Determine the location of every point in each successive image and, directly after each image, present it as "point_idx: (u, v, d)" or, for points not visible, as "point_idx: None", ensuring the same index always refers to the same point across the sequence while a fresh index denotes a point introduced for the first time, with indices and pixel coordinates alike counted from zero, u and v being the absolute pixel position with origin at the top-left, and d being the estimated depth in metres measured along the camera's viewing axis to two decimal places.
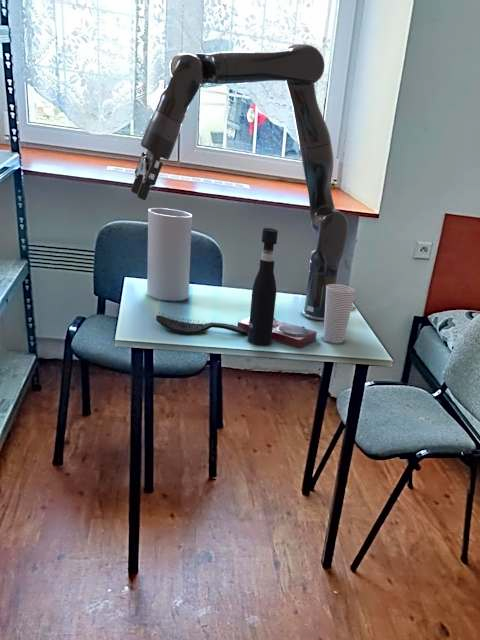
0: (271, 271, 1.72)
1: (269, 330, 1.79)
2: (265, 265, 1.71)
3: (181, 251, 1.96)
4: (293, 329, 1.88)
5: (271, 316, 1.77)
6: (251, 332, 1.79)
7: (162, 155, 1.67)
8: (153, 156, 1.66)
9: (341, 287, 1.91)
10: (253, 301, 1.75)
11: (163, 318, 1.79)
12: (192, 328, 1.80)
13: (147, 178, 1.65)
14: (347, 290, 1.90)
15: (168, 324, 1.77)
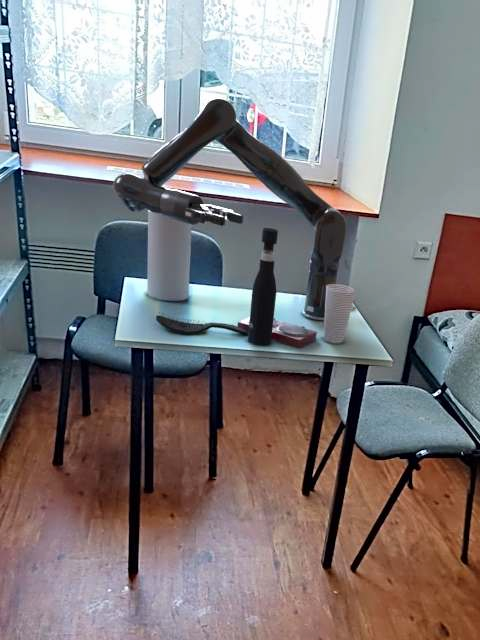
0: (271, 271, 1.72)
1: (269, 330, 1.79)
2: (265, 265, 1.71)
3: (181, 251, 1.96)
4: (293, 329, 1.88)
5: (271, 316, 1.77)
6: (251, 332, 1.79)
7: (187, 206, 1.71)
8: None
9: (341, 287, 1.91)
10: (253, 301, 1.75)
11: (163, 318, 1.79)
12: (192, 328, 1.80)
13: (200, 221, 1.67)
14: (347, 290, 1.90)
15: (168, 324, 1.77)
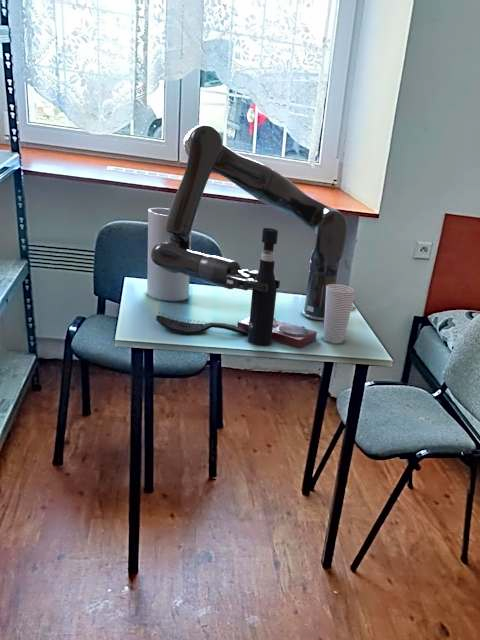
0: (271, 271, 1.72)
1: (269, 330, 1.79)
2: (265, 265, 1.71)
3: None
4: (293, 329, 1.88)
5: (271, 316, 1.77)
6: (251, 332, 1.79)
7: (225, 272, 1.74)
8: None
9: (341, 287, 1.91)
10: (253, 301, 1.75)
11: (163, 318, 1.79)
12: (192, 328, 1.80)
13: (243, 288, 1.71)
14: (347, 290, 1.90)
15: (168, 324, 1.77)
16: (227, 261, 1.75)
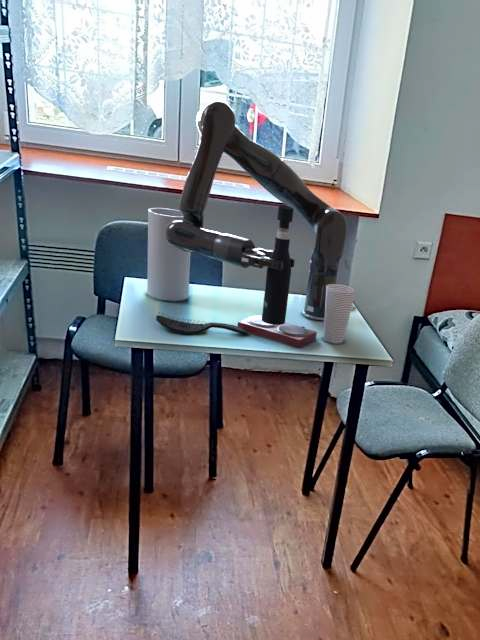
0: (286, 249, 1.72)
1: (284, 310, 1.79)
2: (280, 243, 1.70)
3: (181, 251, 1.96)
4: (293, 329, 1.88)
5: (286, 295, 1.77)
6: (265, 311, 1.78)
7: (240, 250, 1.74)
8: None
9: (341, 287, 1.91)
10: (268, 280, 1.75)
11: (163, 318, 1.79)
12: (192, 328, 1.80)
13: (258, 266, 1.71)
14: (347, 290, 1.90)
15: (168, 324, 1.77)
16: (242, 239, 1.75)
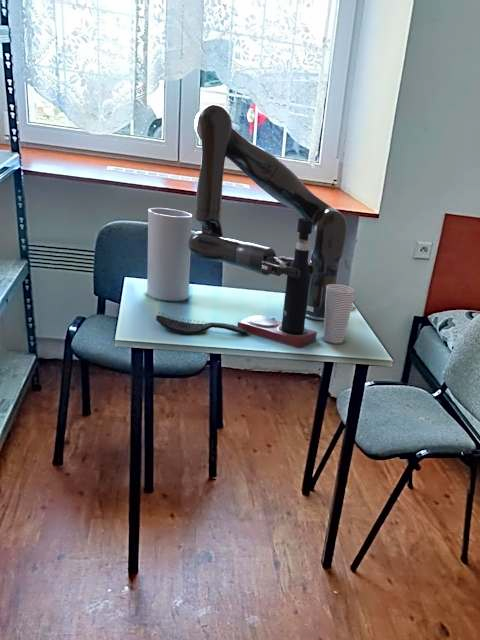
0: (306, 260, 1.78)
1: (302, 318, 1.85)
2: (300, 254, 1.76)
3: (181, 251, 1.96)
4: None
5: (304, 304, 1.83)
6: (285, 319, 1.84)
7: (262, 259, 1.79)
8: None
9: (341, 287, 1.91)
10: (287, 289, 1.80)
11: (163, 318, 1.79)
12: (192, 328, 1.80)
13: (276, 274, 1.75)
14: (347, 290, 1.90)
15: (168, 324, 1.77)
16: (263, 248, 1.80)
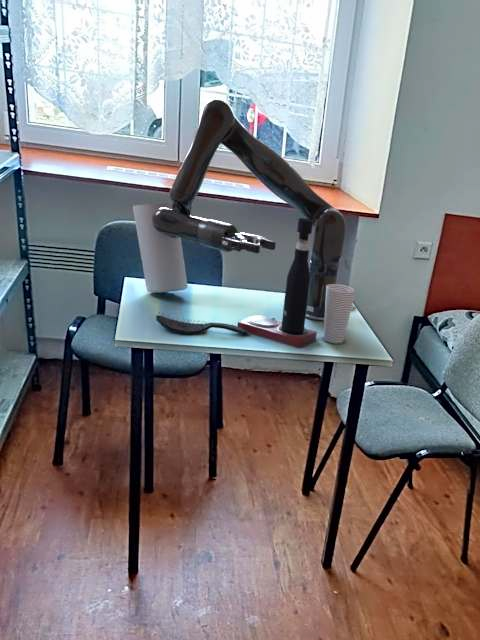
0: (306, 260, 1.78)
1: (302, 318, 1.85)
2: (300, 254, 1.76)
3: (170, 238, 1.96)
4: None
5: (304, 304, 1.83)
6: (285, 319, 1.84)
7: (223, 235, 1.81)
8: None
9: (341, 287, 1.91)
10: (287, 289, 1.80)
11: (163, 318, 1.79)
12: (192, 328, 1.80)
13: (236, 249, 1.77)
14: (347, 290, 1.90)
15: (168, 324, 1.77)
16: (225, 224, 1.82)
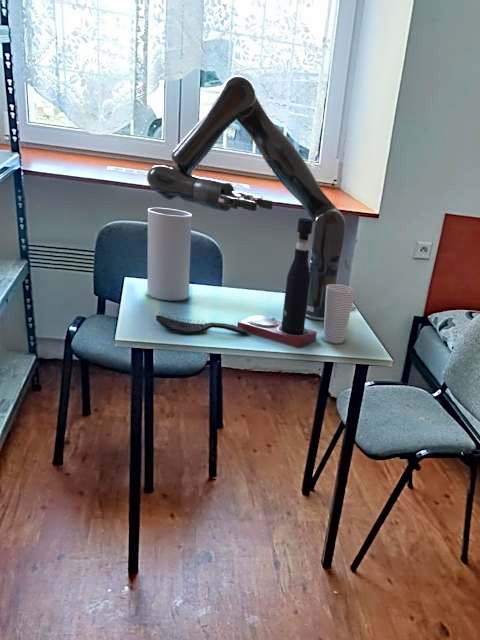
0: (306, 260, 1.78)
1: (302, 318, 1.85)
2: (300, 254, 1.76)
3: (181, 250, 1.96)
4: None
5: (304, 304, 1.83)
6: (285, 319, 1.84)
7: (219, 193, 1.79)
8: None
9: (341, 287, 1.91)
10: (287, 289, 1.80)
11: (163, 318, 1.79)
12: (192, 328, 1.80)
13: (233, 207, 1.75)
14: (347, 290, 1.90)
15: (168, 324, 1.77)
16: (221, 182, 1.80)
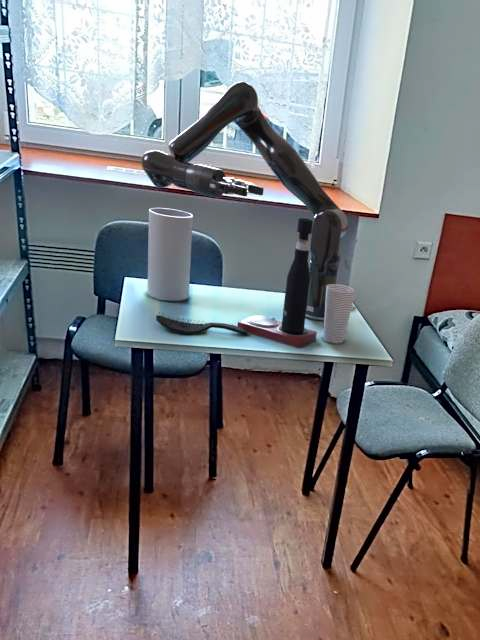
0: (306, 260, 1.78)
1: (302, 318, 1.85)
2: (300, 254, 1.76)
3: (181, 251, 1.96)
4: None
5: (304, 304, 1.83)
6: (285, 319, 1.84)
7: (211, 179, 1.81)
8: None
9: (341, 287, 1.91)
10: (287, 289, 1.80)
11: (163, 318, 1.79)
12: (192, 328, 1.80)
13: (224, 192, 1.78)
14: (347, 290, 1.90)
15: (168, 324, 1.77)
16: (213, 168, 1.83)
